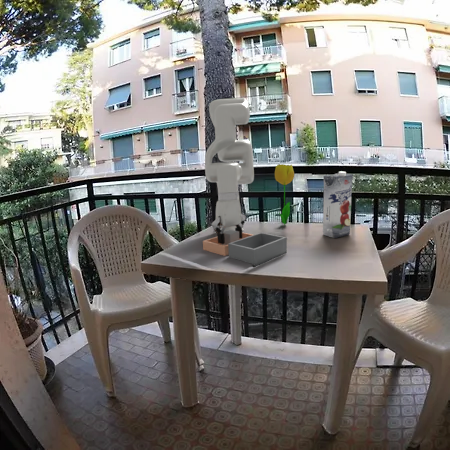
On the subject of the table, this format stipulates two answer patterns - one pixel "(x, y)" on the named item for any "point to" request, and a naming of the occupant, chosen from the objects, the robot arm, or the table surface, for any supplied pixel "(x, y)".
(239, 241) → the bin
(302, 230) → the table surface
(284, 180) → the flower
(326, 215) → the juice carton
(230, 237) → the block
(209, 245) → the trough
